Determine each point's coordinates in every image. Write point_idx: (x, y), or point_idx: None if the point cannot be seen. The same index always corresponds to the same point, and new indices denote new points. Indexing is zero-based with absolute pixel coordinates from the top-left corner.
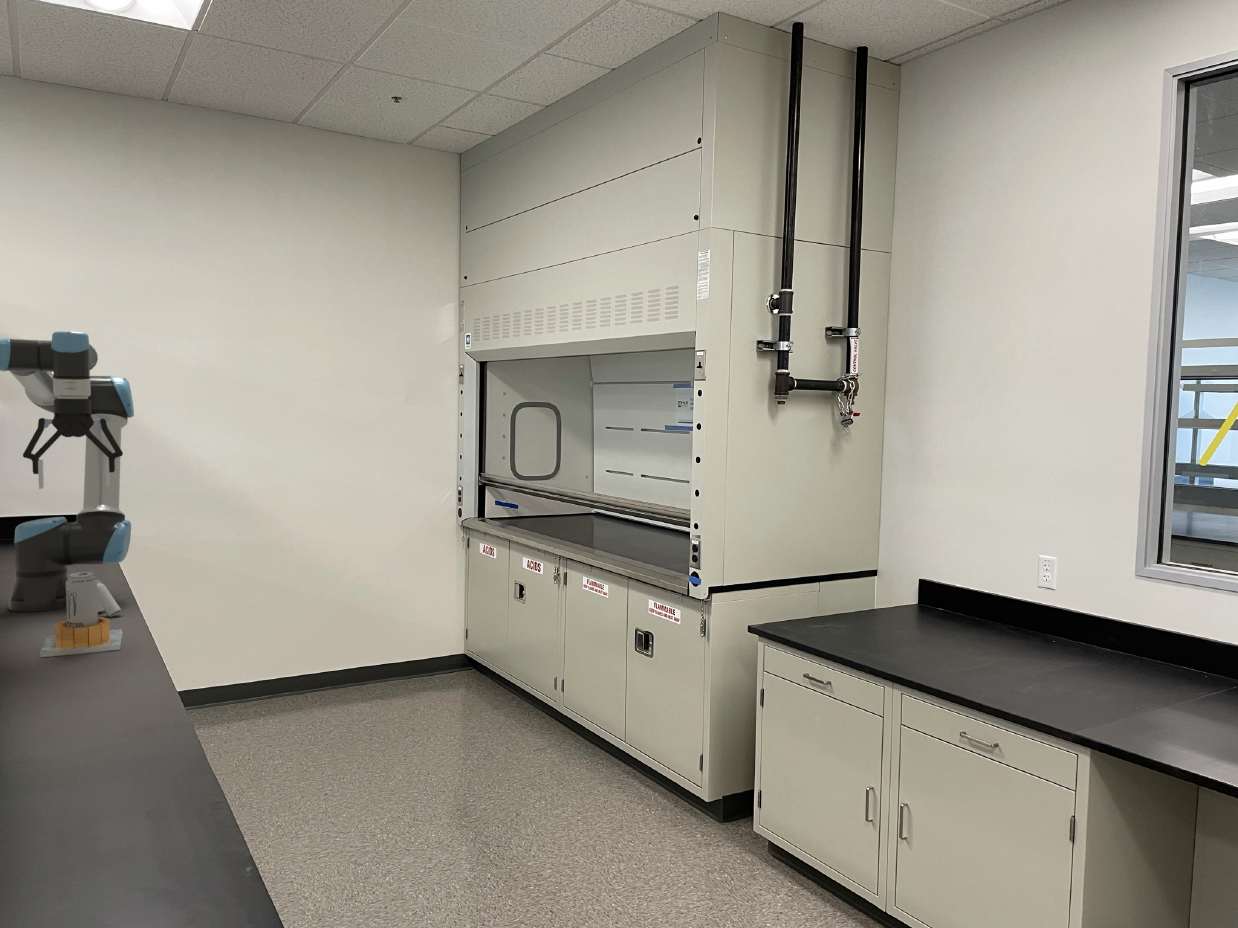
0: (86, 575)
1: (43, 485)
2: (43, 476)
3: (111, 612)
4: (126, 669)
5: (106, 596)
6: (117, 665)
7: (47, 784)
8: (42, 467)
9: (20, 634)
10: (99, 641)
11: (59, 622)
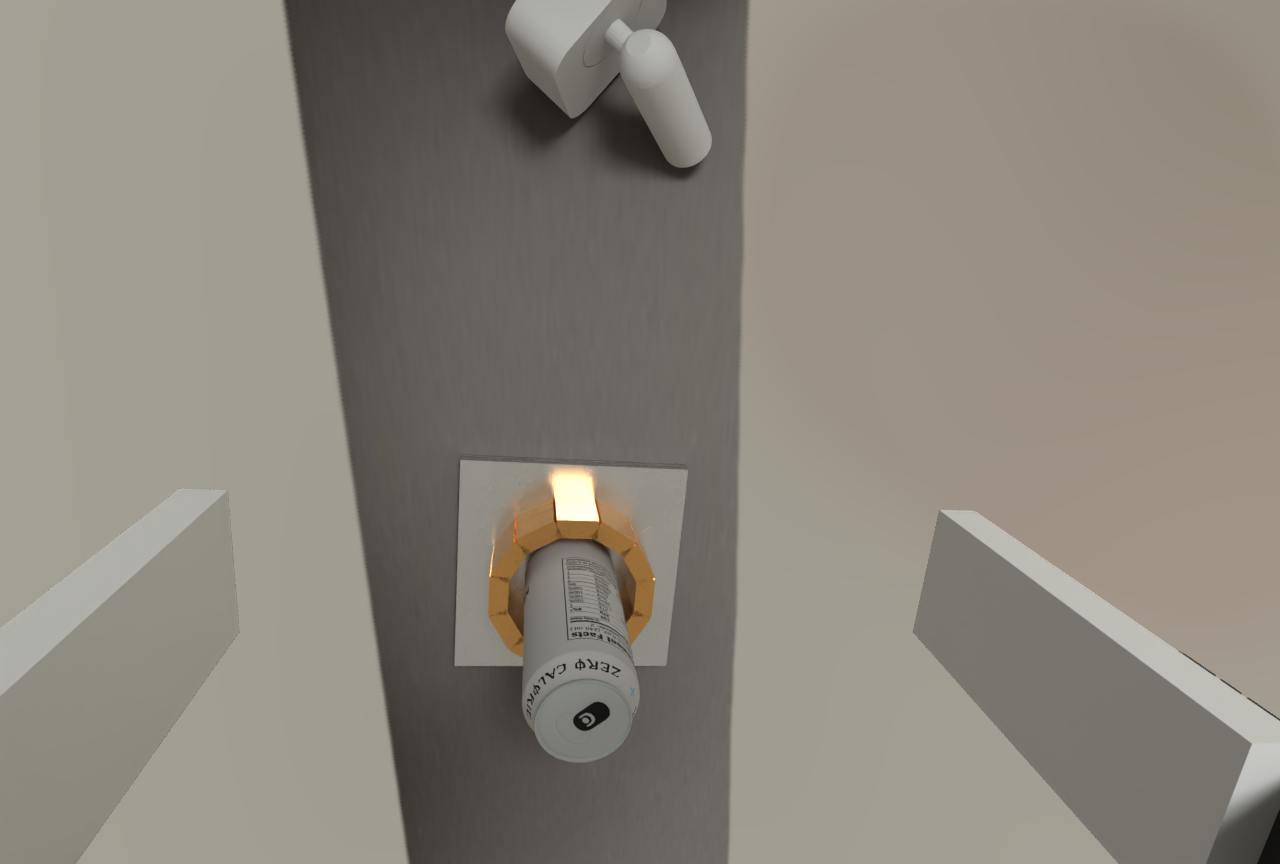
0: (603, 741)
1: (219, 549)
2: (150, 564)
3: (673, 162)
4: (664, 843)
5: (670, 121)
6: (647, 803)
7: None
8: (61, 789)
9: (360, 307)
10: None
11: (499, 565)
